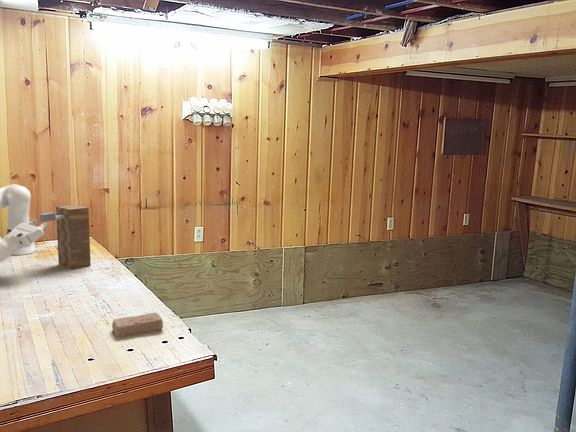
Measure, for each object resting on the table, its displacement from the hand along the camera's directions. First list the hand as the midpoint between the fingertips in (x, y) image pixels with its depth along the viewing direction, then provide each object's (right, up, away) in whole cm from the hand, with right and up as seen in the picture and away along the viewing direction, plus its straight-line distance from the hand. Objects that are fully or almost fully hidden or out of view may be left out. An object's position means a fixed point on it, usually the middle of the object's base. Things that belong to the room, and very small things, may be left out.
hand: (41, 222), depth 255 cm
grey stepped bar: (+5, +2, +7) cm, 9 cm away
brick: (+68, -39, -68) cm, 104 cm away
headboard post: (+9, -23, +17) cm, 30 cm away
